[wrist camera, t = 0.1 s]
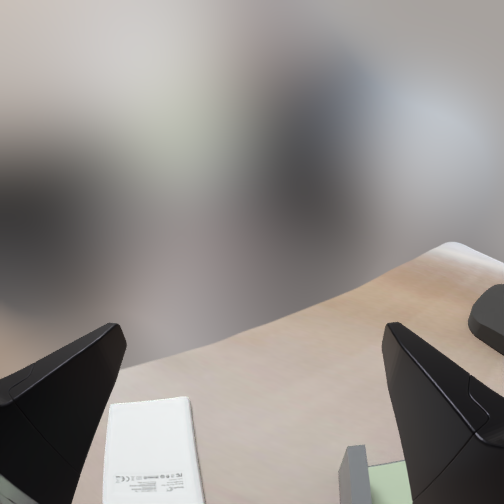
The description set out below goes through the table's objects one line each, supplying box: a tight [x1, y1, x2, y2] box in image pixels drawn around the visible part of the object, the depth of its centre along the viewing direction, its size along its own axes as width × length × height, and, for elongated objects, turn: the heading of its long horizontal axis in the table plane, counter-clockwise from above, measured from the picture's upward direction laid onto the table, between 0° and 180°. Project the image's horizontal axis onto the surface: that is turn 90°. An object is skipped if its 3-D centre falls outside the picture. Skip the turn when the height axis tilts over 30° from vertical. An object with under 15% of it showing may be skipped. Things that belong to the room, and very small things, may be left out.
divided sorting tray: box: [338, 445, 413, 504], centre depth 10 cm, size 12×22×4 cm, turn 84°
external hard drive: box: [103, 397, 205, 504], centre depth 19 cm, size 2×8×12 cm
